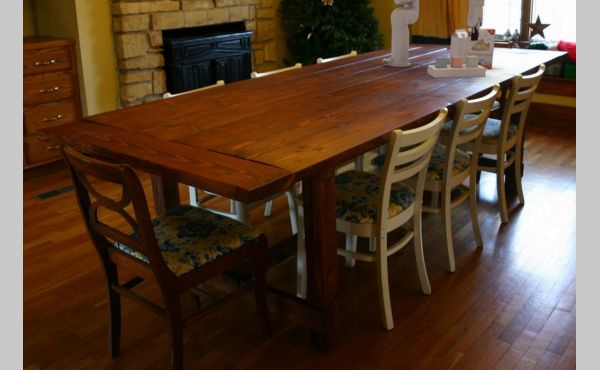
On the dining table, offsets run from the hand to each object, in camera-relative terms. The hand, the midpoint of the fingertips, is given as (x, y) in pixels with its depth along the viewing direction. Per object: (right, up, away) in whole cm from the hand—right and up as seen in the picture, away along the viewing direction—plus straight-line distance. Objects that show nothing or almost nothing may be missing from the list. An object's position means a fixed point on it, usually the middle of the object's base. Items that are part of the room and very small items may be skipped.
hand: (474, 40), depth 315 cm
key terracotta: (-8, -13, +4) cm, 15 cm away
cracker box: (+9, -10, +24) cm, 27 cm away
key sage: (0, -12, +5) cm, 13 cm away
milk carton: (+2, -4, +38) cm, 39 cm away
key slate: (-16, -13, +4) cm, 21 cm away
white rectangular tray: (-8, -16, +6) cm, 19 cm away
